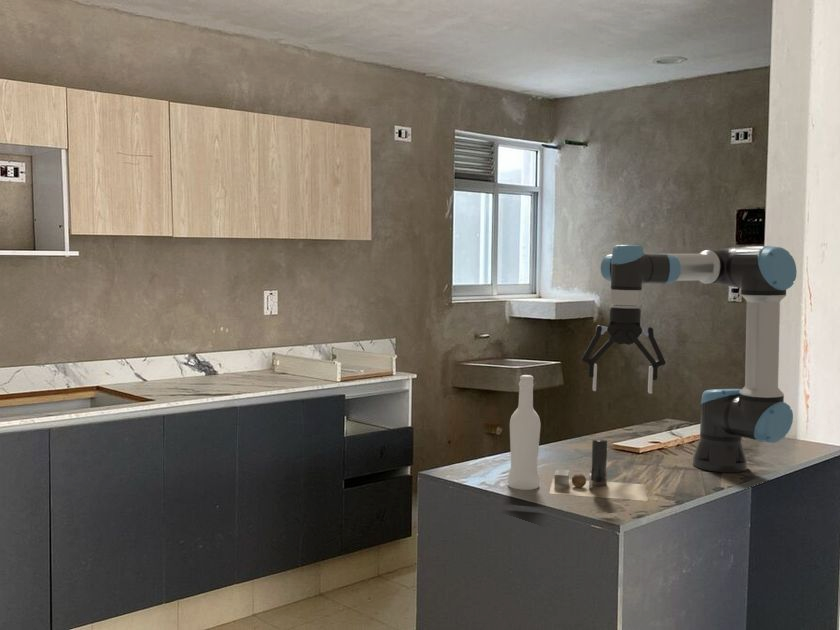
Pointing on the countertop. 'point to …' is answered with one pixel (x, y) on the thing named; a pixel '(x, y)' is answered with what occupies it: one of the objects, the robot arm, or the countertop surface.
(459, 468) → the countertop surface
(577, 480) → the brown ball
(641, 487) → the board
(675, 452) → the countertop surface
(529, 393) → the bottle
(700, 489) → the countertop surface
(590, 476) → the lever
